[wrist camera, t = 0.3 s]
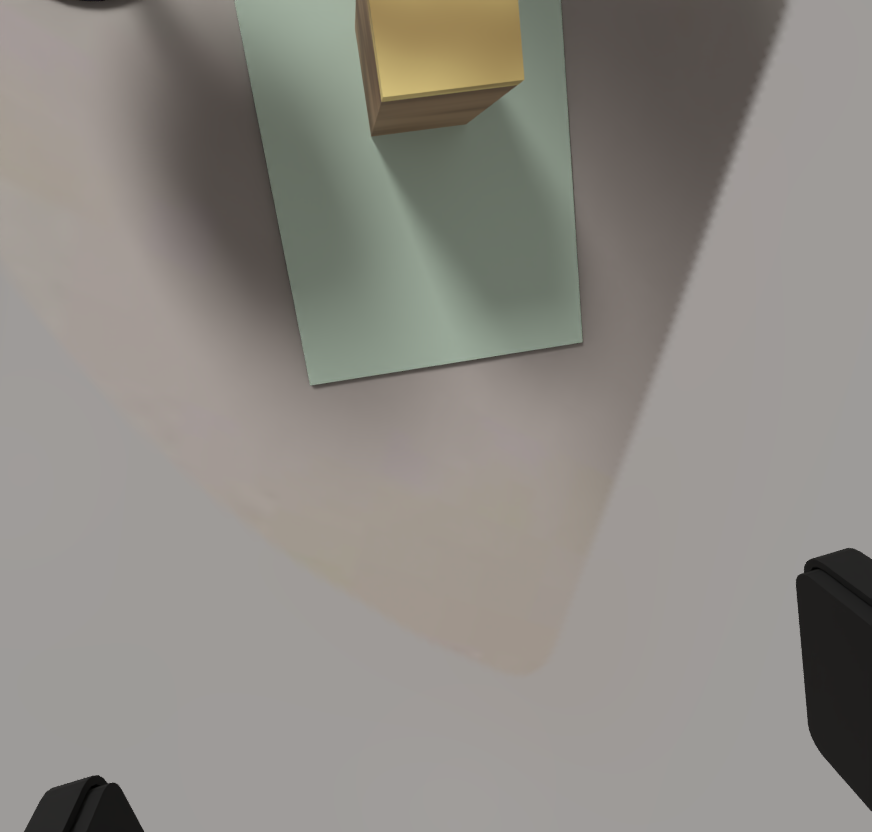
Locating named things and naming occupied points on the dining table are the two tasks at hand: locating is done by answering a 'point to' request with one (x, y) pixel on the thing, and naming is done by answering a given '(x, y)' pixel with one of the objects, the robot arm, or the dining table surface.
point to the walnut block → (435, 60)
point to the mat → (414, 202)
